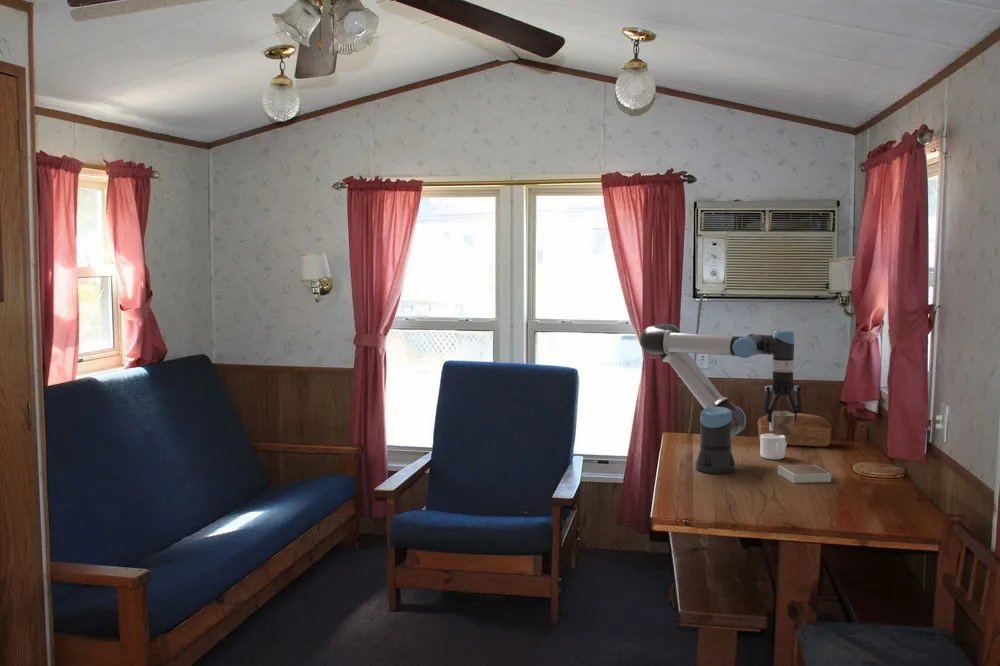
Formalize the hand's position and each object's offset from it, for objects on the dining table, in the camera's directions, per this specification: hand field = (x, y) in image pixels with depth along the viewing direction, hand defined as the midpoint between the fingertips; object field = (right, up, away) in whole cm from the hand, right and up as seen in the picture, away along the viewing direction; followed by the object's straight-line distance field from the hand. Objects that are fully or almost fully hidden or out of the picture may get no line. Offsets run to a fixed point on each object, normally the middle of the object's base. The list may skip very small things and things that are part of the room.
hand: (781, 430), depth 326 cm
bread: (+22, -12, +49) cm, 55 cm away
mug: (+4, -14, +20) cm, 25 cm away
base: (+4, -16, -12) cm, 20 cm away
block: (0, -1, 0) cm, 1 cm away
